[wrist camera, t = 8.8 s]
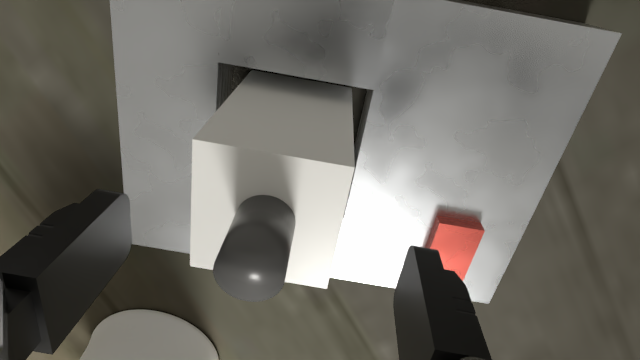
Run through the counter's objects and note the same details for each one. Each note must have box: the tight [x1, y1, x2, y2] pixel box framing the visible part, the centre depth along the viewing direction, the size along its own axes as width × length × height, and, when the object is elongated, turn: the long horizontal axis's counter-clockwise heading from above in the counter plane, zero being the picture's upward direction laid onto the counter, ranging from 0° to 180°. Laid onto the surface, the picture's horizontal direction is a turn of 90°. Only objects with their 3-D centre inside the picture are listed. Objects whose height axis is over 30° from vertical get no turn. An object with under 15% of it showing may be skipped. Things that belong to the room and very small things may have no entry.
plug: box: [190, 70, 355, 302], centre depth 15 cm, size 4×4×10 cm
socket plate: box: [110, 0, 622, 304], centre depth 18 cm, size 18×13×3 cm
